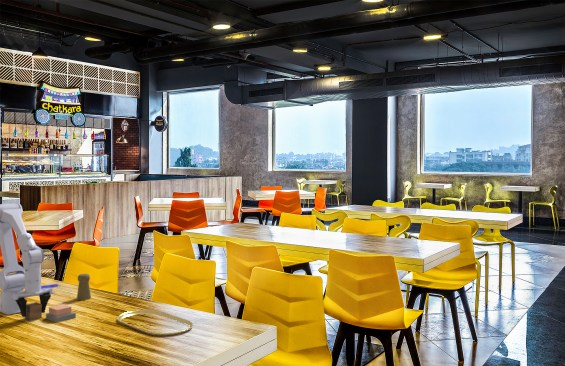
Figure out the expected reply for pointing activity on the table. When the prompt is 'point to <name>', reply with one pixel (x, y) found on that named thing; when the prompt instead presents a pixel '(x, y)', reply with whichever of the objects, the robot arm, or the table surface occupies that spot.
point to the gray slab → (60, 317)
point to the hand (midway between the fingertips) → (33, 314)
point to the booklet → (49, 286)
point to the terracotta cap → (60, 310)
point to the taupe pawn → (83, 287)
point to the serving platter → (156, 314)
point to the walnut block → (33, 311)
